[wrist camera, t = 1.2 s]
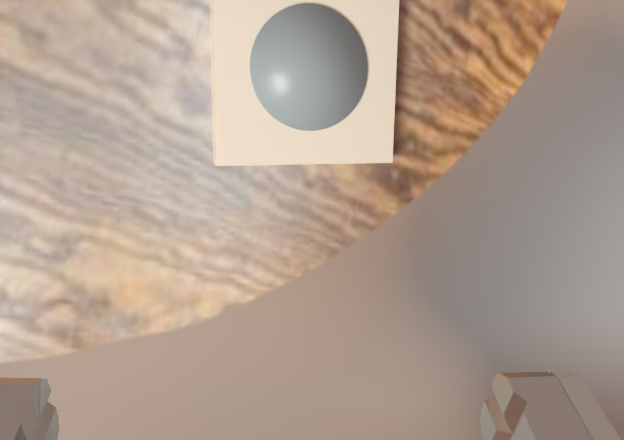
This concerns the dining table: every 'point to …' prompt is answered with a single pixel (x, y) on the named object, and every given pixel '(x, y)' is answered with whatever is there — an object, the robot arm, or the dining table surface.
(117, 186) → the dining table surface
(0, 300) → the dining table surface
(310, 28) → the base board
